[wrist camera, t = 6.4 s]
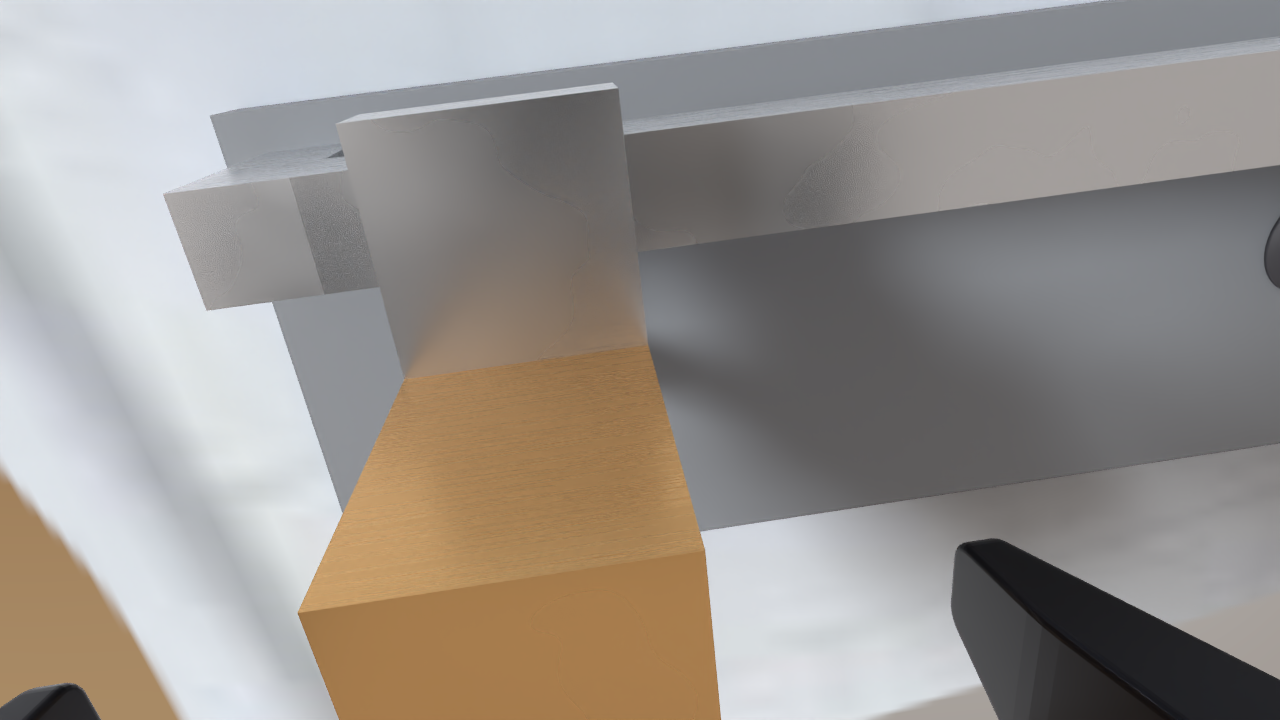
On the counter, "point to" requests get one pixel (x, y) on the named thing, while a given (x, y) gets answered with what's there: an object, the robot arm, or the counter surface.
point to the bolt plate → (892, 291)
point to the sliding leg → (512, 437)
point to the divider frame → (796, 163)
